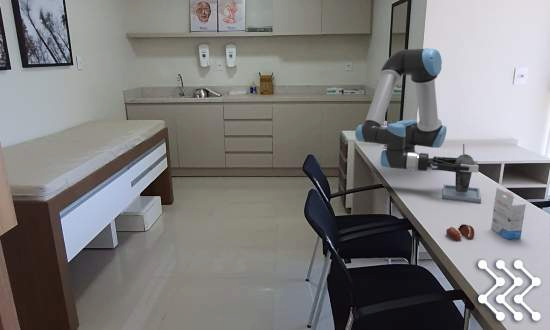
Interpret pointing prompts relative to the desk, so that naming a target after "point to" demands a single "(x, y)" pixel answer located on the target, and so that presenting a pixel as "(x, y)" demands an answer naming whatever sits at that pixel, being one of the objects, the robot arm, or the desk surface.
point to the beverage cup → (463, 173)
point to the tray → (461, 194)
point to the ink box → (507, 215)
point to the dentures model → (461, 232)
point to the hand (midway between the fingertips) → (477, 166)
